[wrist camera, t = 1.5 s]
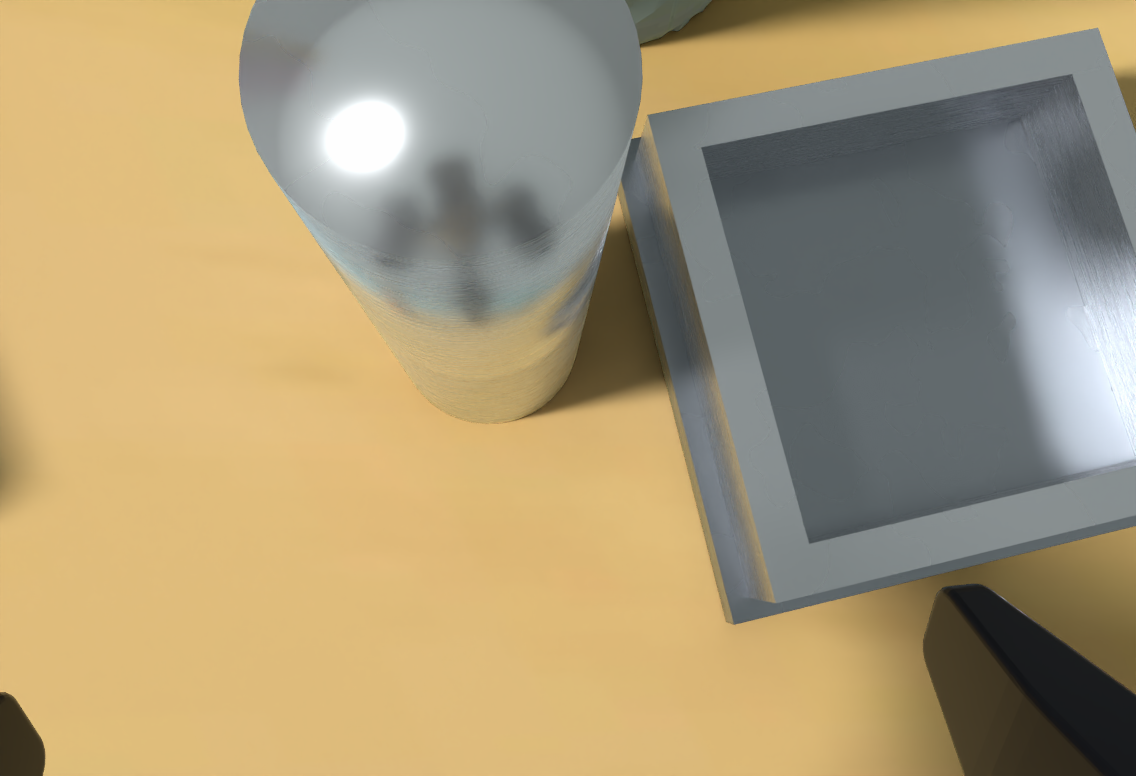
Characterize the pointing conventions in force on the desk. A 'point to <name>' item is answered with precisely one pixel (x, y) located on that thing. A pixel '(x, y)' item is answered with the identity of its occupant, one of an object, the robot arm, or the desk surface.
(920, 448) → the square metal tray
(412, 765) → the desk surface
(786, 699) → the desk surface
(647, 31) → the blue gray cup
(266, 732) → the desk surface
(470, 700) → the desk surface
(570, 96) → the silver metal cylinder
